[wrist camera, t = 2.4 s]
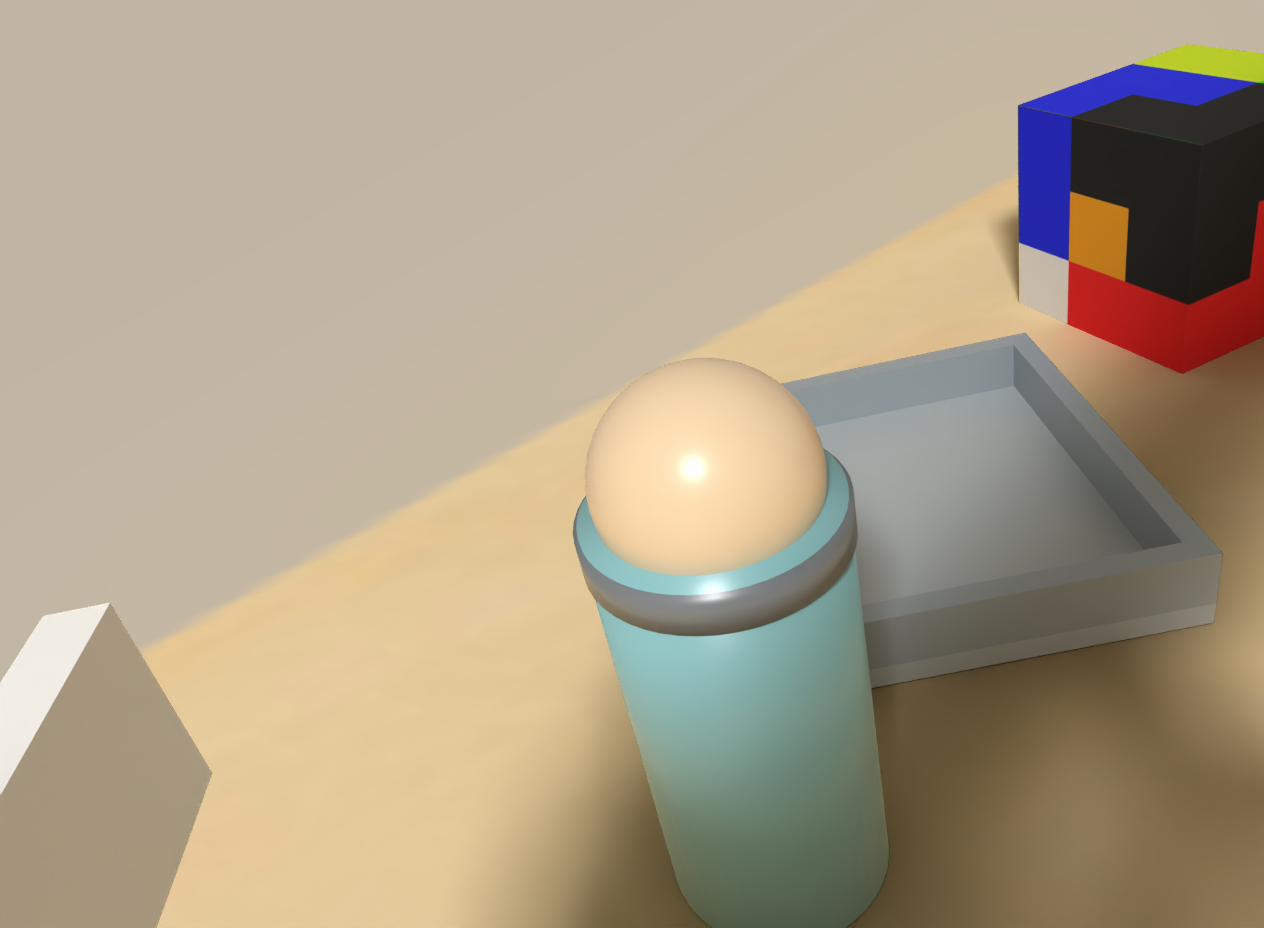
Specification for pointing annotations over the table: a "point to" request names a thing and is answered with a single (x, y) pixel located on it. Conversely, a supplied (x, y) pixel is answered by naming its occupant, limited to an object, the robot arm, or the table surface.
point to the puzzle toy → (1149, 205)
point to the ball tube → (739, 642)
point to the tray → (1000, 514)
